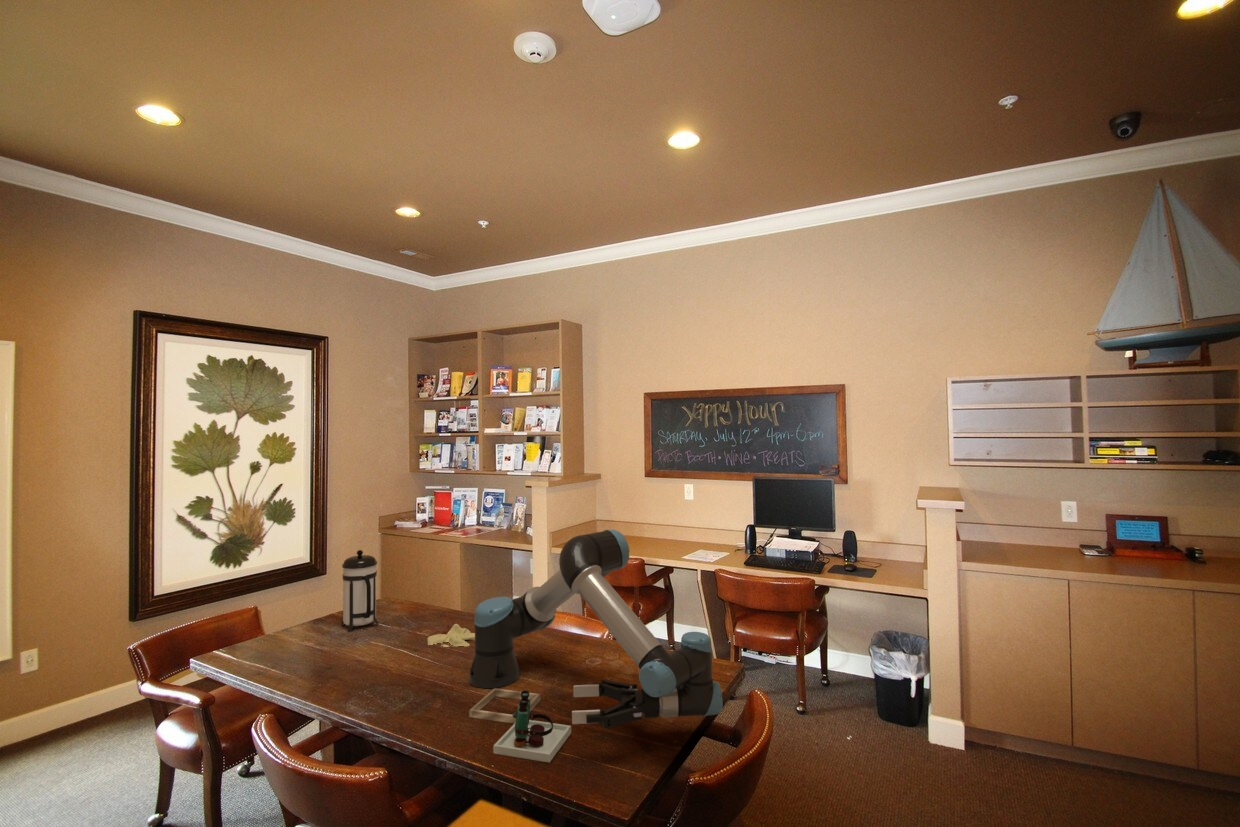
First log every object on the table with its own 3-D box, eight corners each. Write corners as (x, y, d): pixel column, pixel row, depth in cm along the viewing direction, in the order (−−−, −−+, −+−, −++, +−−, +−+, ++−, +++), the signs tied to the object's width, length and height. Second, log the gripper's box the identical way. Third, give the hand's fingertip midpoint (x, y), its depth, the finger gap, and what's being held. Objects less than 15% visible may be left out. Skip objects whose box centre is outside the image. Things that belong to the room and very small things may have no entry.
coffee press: (328, 632, 221) (328, 554, 222) (354, 618, 237) (354, 546, 238) (369, 634, 218) (369, 555, 219) (392, 620, 234) (392, 546, 235)
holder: (469, 717, 153) (469, 710, 153) (494, 694, 166) (494, 688, 166) (518, 724, 148) (518, 717, 149) (540, 700, 161) (540, 694, 162)
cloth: (416, 643, 209) (416, 626, 209) (457, 628, 224) (456, 613, 225) (456, 656, 196) (456, 638, 197) (496, 639, 212) (496, 623, 212)
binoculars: (555, 706, 136) (512, 704, 135) (550, 751, 135) (508, 749, 135) (556, 689, 145) (516, 687, 144) (552, 731, 144) (512, 729, 144)
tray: (493, 753, 135) (493, 745, 135) (519, 725, 148) (519, 718, 148) (549, 762, 131) (549, 754, 131) (571, 733, 144) (571, 725, 144)
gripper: (665, 742, 129) (571, 747, 128) (653, 692, 154) (574, 696, 153) (665, 709, 129) (571, 713, 128) (652, 664, 154) (573, 667, 153)
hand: (572, 703), depth 140 cm, fingers open, 13 cm apart
